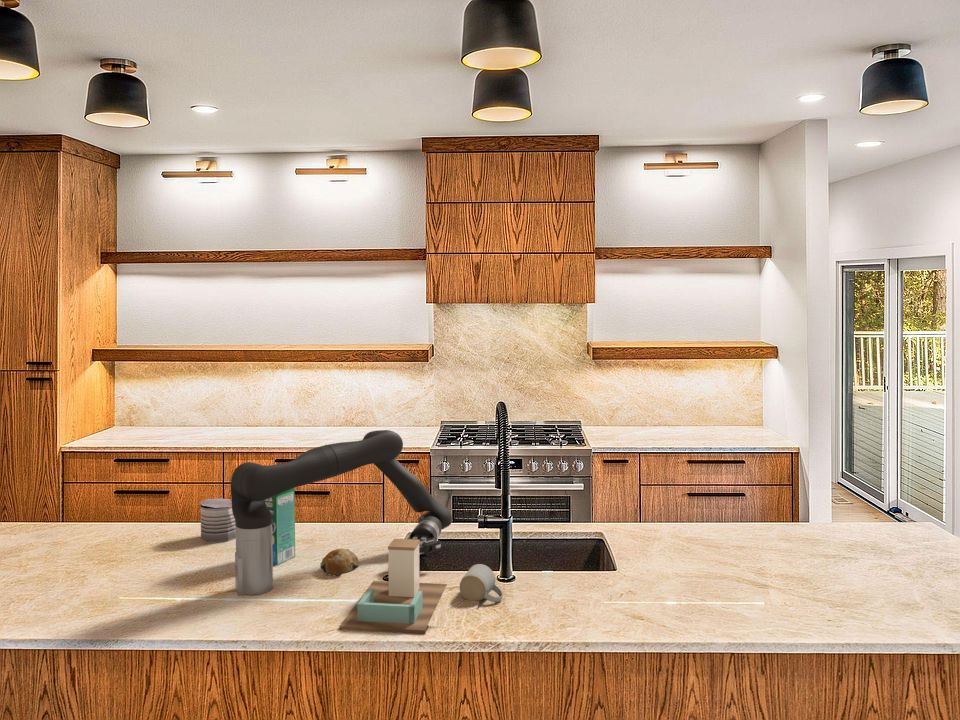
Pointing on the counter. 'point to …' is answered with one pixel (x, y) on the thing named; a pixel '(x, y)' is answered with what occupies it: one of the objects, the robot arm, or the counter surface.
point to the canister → (403, 567)
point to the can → (217, 521)
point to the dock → (389, 609)
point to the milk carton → (282, 525)
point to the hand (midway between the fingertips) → (412, 554)
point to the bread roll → (339, 562)
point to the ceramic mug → (479, 584)
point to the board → (381, 595)
